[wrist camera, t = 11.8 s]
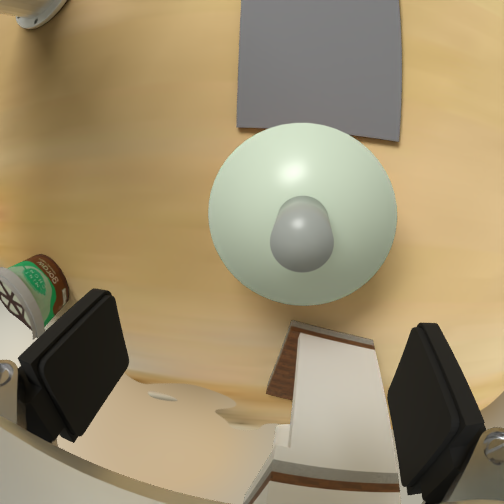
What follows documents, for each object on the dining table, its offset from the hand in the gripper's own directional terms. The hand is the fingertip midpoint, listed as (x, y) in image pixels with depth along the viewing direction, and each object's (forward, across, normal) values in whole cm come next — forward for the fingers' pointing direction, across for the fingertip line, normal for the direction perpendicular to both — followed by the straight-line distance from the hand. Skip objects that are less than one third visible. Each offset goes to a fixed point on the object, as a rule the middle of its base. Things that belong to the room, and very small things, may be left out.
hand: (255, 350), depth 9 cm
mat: (+24, -2, -15) cm, 29 cm away
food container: (+25, +35, +13) cm, 44 cm away
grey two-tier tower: (+24, -5, +22) cm, 33 cm away
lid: (+17, -1, +1) cm, 17 cm away
